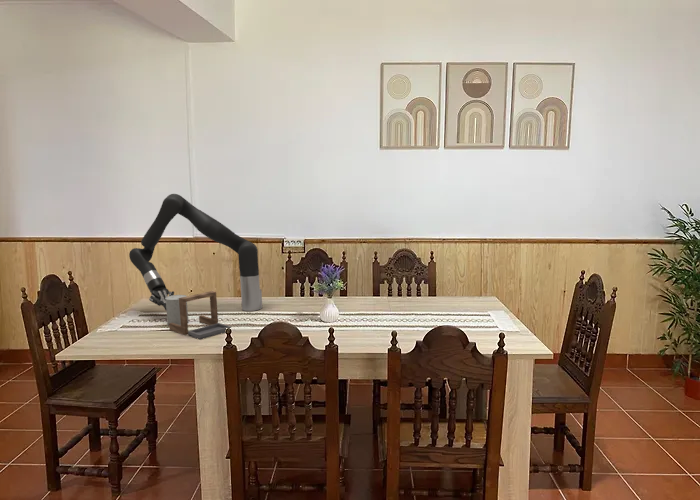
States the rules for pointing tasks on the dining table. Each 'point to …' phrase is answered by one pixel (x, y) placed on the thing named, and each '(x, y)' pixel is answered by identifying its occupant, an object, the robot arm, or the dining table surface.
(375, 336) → the dining table surface
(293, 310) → the dining table surface
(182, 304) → the walnut frame
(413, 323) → the dining table surface
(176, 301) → the grey upright pillar
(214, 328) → the grey shallow rectangular tray
